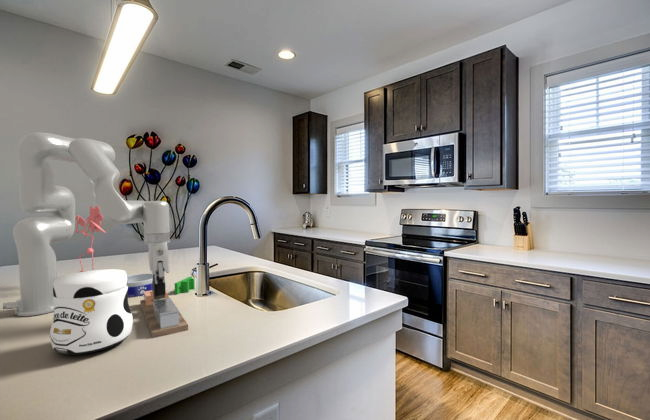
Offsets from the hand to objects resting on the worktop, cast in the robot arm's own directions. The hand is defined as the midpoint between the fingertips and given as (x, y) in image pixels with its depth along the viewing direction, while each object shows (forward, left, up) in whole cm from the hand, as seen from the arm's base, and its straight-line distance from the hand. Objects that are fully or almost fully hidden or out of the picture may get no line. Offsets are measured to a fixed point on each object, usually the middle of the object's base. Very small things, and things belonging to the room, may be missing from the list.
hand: (159, 292), depth 108 cm
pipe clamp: (+13, +21, -7) cm, 26 cm away
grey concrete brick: (0, -13, -5) cm, 14 cm away
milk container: (-17, -17, -7) cm, 25 cm away
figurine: (-17, +58, -6) cm, 61 cm away
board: (0, -5, -6) cm, 8 cm away
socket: (0, +9, -5) cm, 10 cm away
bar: (0, -7, -4) cm, 8 cm away
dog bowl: (-4, +31, -7) cm, 32 cm away
